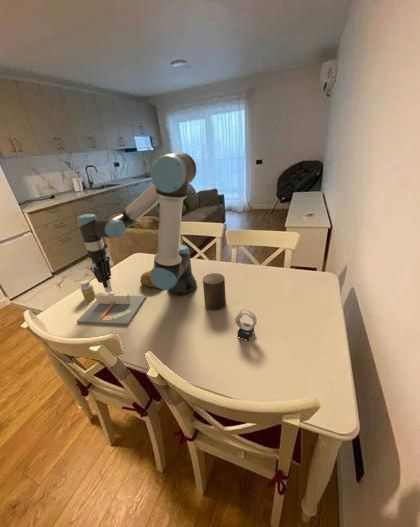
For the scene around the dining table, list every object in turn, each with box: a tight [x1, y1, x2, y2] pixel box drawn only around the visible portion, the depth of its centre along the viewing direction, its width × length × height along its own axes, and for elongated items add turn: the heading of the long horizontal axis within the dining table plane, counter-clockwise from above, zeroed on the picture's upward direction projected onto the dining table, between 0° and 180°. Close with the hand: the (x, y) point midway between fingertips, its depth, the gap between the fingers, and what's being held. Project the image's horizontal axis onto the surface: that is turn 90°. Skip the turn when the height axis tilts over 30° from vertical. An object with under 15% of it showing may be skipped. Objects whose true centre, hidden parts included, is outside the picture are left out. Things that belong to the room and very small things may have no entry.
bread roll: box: [140, 270, 159, 289], centre depth 126 cm, size 10×15×8 cm, turn 65°
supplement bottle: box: [80, 279, 96, 302], centre depth 119 cm, size 5×5×10 cm
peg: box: [95, 290, 131, 318], centre depth 107 cm, size 16×13×6 cm
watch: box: [234, 309, 258, 341], centre depth 88 cm, size 6×8×11 cm
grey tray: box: [76, 295, 147, 327], centre depth 110 cm, size 24×20×1 cm
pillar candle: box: [202, 272, 227, 311], centre depth 106 cm, size 10×10×15 cm
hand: (109, 291), depth 119 cm, fingers closed
